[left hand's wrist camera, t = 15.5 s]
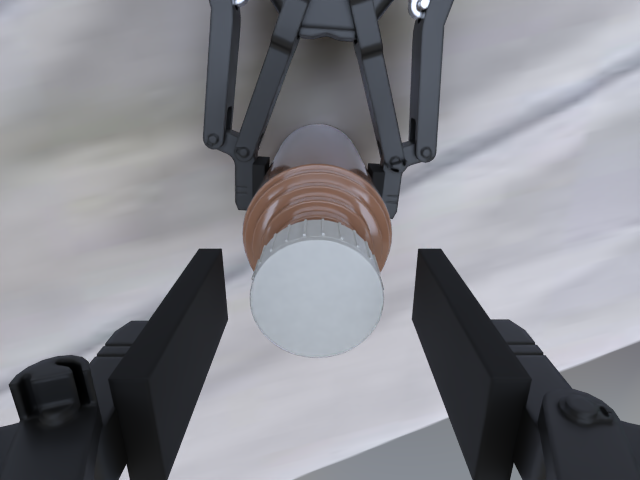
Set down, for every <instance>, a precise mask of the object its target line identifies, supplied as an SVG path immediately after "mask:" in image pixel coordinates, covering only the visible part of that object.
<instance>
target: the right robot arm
mask: <svg viewBox="0 0 640 480" xmlns="http://www.w3.org/2000/svg"><path fill="white" fill-rule="evenodd" d="M271 1H272V3H273V5H274V6H275V8H276V10H277V11H278V13H279V17H278V20H277V23H276V26H275V29H274V32H273V35H272V38H271V43H270V46H269V49H268V52H267V55H266V58H265V61H264V64H263V67H262V70H261V72H260V75H259V78H258V81H257V84H256V87H255V90H254V93H253V95H252V98H251V101H250V104H249V107H248V110H247V113H246V116H245V118H244V121H243V124H242V127H241V130H240V133H238V132H236V131H233V130H232V119H233V108H234V96H235V84H236V73H237V61H238V49H239V38H240V24H241V17H240V7H241V6H244V5H245V4H246V3H247V2H248V0H209V2H210V6H211V20H210V36H209V52H208V68H207V83H206V99H205V115H204V131H203V141H204V143H205V145H206V146H207V147H208V148H210V149H217V150H220V151H222V152H224V153H227V154H228V155H230V156H231V157H232V158H233V160H234V162H235V202H236V205H237V207H238V210H247V209H248V206H249V204H250V203H251V201H252V199H253V197H254V195H255V193H256V191H257V189H258V188H259V186H260V184H261V182H262V180H263V178H264V176H265V175H266V173H267V171H268V169H269V164H270V157H259V156H258V150H259V146H260V144H261V141H262V138H263V135H264V133H265V130H266V127H267V125H268V122H269V119H270V116H271V114H272V111H273V108H274V106H275V103H276V100H277V97H278V95H279V92H280V89H281V87H282V84H283V81H284V78H285V76H286V73H287V70H288V68H289V65H290V62H291V59H292V57H293V54H294V52H295V50H296V47H297V45H298V42H299V39H300V37H301V38H307V39H315V38H320V37H324V36H328V37H331V38H334V39H336V40H339V41H350V42H353V44H354V48H355V53H356V56H357V59H358V63H359V67H360V71H361V76H362V80H363V84H364V89H365V93H366V97H367V102H368V106H369V110H370V115H371V119H372V123H373V128H374V132H375V136H376V141H377V145H378V149H379V154H380V158H381V161H380V164H371V163H368V172H369V174H370V176H371V178H372V180H373V182H374V184H375V186H376V188H377V190H378V192H379V194H380V196H381V197H382V199H383V201H384V203H385V205H386V207H387V210H388V213H389V216H390V219H393V217H394V216H395V214H396V212H397V206H398V199H399V191H400V184H401V176H402V173H403V172H404V171H405V169H406V168H407V167H408V166H410V165H413V164H416V163H420V162H425V163H426V162H430V161H431V160H433V159H434V157H435V155H436V147H437V131H438V116H439V100H440V84H441V68H442V52H443V36H444V25H445V22H446V19H447V17H448V14H449V12H450V9H451V6H452V4H453V1H454V0H408V1H409V4H408V12H409V15H410V16H411V17H412V18H414V19H416V21H415V25H414V31H413V42H412V67H411V92H410V118H409V141H407V142H404V143H402V142H401V137H400V132H399V128H398V123H397V118H396V113H395V109H394V104H393V99H392V94H391V89H390V85H389V80H388V75H387V70H386V66H385V61H384V56H383V46H382V40H381V35H380V30H379V25H378V20H379V18H380V17H381V16H382V15H383V13H384V12H385V11H386V9H387V8H388V7H389V6H390V4H391V3H392V2H393V1H394V0H271Z"/></svg>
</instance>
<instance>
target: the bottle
mask: <svg viewBox="0 0 640 480" xmlns="http://www.w3.org/2000/svg"><path fill="white" fill-rule="evenodd" d="M305 219H307V220H322V219H324V220H327V221H332V222H336V223H339V222H340V223H341V225H344V226H346V227H348V228H350V229H351V230H355V231H356V233H357V234H358V235H359V236H360V237H361V238H362V239H363V240H364V241H367V243H368V246H369V249H370V250H371V252H372V255H375V258H376V261H377V264H378V267H379V270H380V272H381V271H382V269H383V267H384V265H385V262H386V260H387V257H388V254H389V251H390V247H391V241H392V227H391V220H390V216H389V213H388V210H387V207H386V205H385V203H384V201H383V199H382V197H381V196H380V194H379V192H378V190H377V188H376V186H375V184H374V182H373V180H372V178H371V176H370V174H369V172H368V170H367V169H366V167H365V165H364V163H363V161H362V159H361V157H360V155H359V153H358V151H357V149H356V147H355V146H354V144H353V142H352V141H351V139H350V138H349V137H348V136H347V135H346V134H345V133H343V132H342V131H340V130H339V129H337V128H335V127H332V126H329V125H325V124H311V125H306V126H303V127H301V128H298V129H297V130H295V131H293V132H292V133H291V134H290V135H289V136H288V137H287V138H286V139H285V140H284V142H283V143H282V145H281V147H280V148H279V150H278V152H277V154H276V156H275V158H274V160H273V161H272V163H271V165H270V167H269V169H268V171H267V173H266V175H265V176H264V178H263V180H262V182H261V184H260V186H259V188H258V189H257V191H256V193H255V195H254V197H253V199H252V201H251V203H250V204H249V206H248V209H247V212H246V214H245V218H244V223H243V244H244V249H245V253H246V255H247V258H248V261H249V263H250V266H251V267H252V269H253V271H254V270H255V267H256V264H257V261H258V259H260V257H261V254H262V250H263V247H264V245H267V244H268V243H269V241H270V240H271V239H272V238H273V236H274V234H275V233H276V234H277V233H279V232H280V231H281V230H283V229H285V228H286V227H288V225H289V224H290V225H293V224H295V223H298V222H302V221H304V220H305Z"/></svg>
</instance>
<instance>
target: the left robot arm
mask: <svg viewBox="0 0 640 480" xmlns="http://www.w3.org/2000/svg"><path fill="white" fill-rule="evenodd" d="M227 321H228V313H227V302H226V291H225V280H224V268H223V257H222V249H199V250H198V251H197V252H196V254H195V255H194V257H193V258H192V260H191V261H190V262H189V264H188V265H187V267H186V268H185V270H184V271H183V272H182V274H181V275H180V277H179V278H178V280H177V281H176V282H175V284H174V285H173V287H172V288H171V290H170V291H169V292H168V294H167V295H166V297H165V298H164V300H163V301H162V302H161V304H160V305H159V307H158V308H157V310H156V311H155V312H154V314H153V315H152V317H151V318H150V320H149V321H130V322H129V323H127V324H126V325H124V326H123V327H121V328H120V329H118V330H117V331H115V332H114V334H113V335H112V336H111V337H110V339H109V340H108V341H107V342H106V344H105V346H103V347H102V349H101V350H100V351H99V352H98V354H97V357H94V359H93V360H92V361H91V362H90V364H89V362H88V361H87V360H85V359H84V358H83V357H79V356H74V355H66V356H57V357H53V358H49V359H45V360H42V361H40V362H38V363H36V364H33V365H31V366H29V367H27V368H26V369H24V370H23V371H22V372H20V373H19V374H17V375H16V376H15V377H14V379H13V380H12V381H11V382H10V384H9V387H10V390H11V393H12V396H13V400H14V403H15V406H16V409H17V412H18V415H19V418H20V422H19V423H16V424H12V425H8V426H3V427H0V480H119V478H120V476H121V474H122V472H123V470H124V468H125V466H126V464H127V468H128V473H129V477H130V480H167V479H168V477H169V474H170V471H171V469H172V466H173V464H174V461H175V458H176V456H177V453H178V450H179V448H180V445H181V442H182V440H183V437H184V434H185V432H186V429H187V427H188V424H189V421H190V419H191V416H192V413H193V411H194V408H195V405H196V403H197V400H198V397H199V395H200V392H201V390H202V387H203V384H204V382H205V379H206V376H207V374H208V371H209V368H210V366H211V363H212V360H213V358H214V355H215V353H216V350H217V347H218V345H219V342H220V339H221V337H222V334H223V331H224V329H225V326H226V323H227ZM412 321H413V323H414V326H415V329H416V331H417V334H418V337H419V339H420V342H421V345H422V347H423V350H424V353H425V355H426V358H427V360H428V363H429V366H430V368H431V371H432V374H433V376H434V379H435V382H436V384H437V387H438V390H439V392H440V395H441V397H442V400H443V403H444V405H445V408H446V411H447V413H448V416H449V419H450V421H451V424H452V427H453V429H454V432H455V434H456V437H457V440H458V442H459V445H460V448H461V450H462V453H463V456H464V458H465V461H466V464H467V466H468V469H469V471H470V474H471V477H472V479H473V480H510V477H511V473H512V468H513V463H514V464H515V465H516V468H517V469H518V471H519V474H520V475H521V478H522V480H640V425H636V424H631V423H627V422H624V421H620V419H619V418H618V416H617V415H616V413H615V412H614V410H613V409H611V408H610V407H609V406H608V405H607V404H605V403H604V402H603V401H602V400H600V399H598V398H596V397H594V396H592V395H590V394H588V393H585V392H582V391H578V390H575V389H572V388H571V386H570V385H569V384H568V383H567V381H566V380H565V379H564V378H563V377H562V375H561V374H560V373H559V372H558V370H557V369H556V368H555V367H554V365H553V364H552V363H551V362H550V360H549V359H548V358H547V357H546V355H543V352H542V351H541V349H540V348H539V347H538V346H537V345H535V342H534V341H533V339H532V338H531V337H530V336H529V334H528V333H527V332H526V331H525V330H524V329H523V328H521V327H519V326H518V325H516V324H515V323H513V322H512V321H510V320H490V318H489V317H488V315H487V314H486V312H485V311H484V310H483V308H482V307H481V305H480V304H479V302H478V301H477V300H476V298H475V297H474V295H473V294H472V292H471V291H470V290H469V288H468V287H467V285H466V284H465V282H464V281H463V280H462V278H461V277H460V275H459V274H458V272H457V271H456V270H455V268H454V267H453V265H452V264H451V262H450V261H449V260H448V258H447V257H446V255H445V254H444V252H443V251H442V250H441V249H418V257H417V268H416V280H415V291H414V302H413V313H412Z"/></svg>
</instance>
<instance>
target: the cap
mask: <svg viewBox="0 0 640 480" xmlns="http://www.w3.org/2000/svg"><path fill="white" fill-rule="evenodd" d="M252 280H253V282H252V286H251V291H250V306H251V311H252V314H253V317H254V320H255V322H256V324H257V325H258V327H259V329H260V330H261V331H262V333H263V334H264V335H265V336H266V337H267V338H268V339H269V340H270V341H271V342H272V343H274V344H275V345H276V346H278V347H280V348H281V349H283V350H285V351H287V352H289V353H292V354H295V355H299V356H304V357H312V358H322V357H330V356H335V355H339V354H341V353H344V352H347V351H349V350H351V349H353V348H354V347H356V346H358V345H359V344H360V343H362V342H363V341H364V340H365V339H366V338H367V337H368V336H369V335H370V334H371V333H372V331H373V330H374V328H375V327H376V325H377V323H378V321H379V319H380V317H381V314H382V310H383V303H384V294H383V290H384V287H383V284H382V281H381V278H380V270H379V267H378V264H377V261H376V258H375V255H372V252H371V250H370V249H369V246H368V243H367V241H364V240H363V239H362V238H361V237H360V236H359V235H358V234H357V233H356V231H355V230H351V229H350V228H348V227H346V226H344V225H341V223H340V222H339V223H336V222H332V221H327V220H324V219H322V220H307V219H305V220H304V221H302V222H298V223H295V224H293V225H290V224H289V225H288V227H286V228H285V229H283V230H281V231H280V232H279V233H277V234H276V233H275V234H274V236H273V238H272V239H271V240H270V241H269V243H268V244H267V245H264V247H263V250H262V254H261V257H260V259H258V261H257V264H256V267H255V270H254V273H253V276H252Z"/></svg>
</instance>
